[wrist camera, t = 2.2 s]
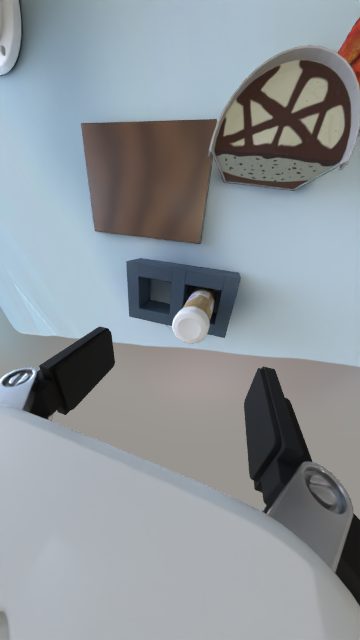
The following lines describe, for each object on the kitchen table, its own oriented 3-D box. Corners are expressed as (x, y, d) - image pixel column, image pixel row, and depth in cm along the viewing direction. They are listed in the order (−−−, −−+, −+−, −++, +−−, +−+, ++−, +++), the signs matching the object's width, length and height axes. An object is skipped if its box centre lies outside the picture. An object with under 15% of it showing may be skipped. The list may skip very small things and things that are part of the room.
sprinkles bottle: (204, 279, 30) (187, 304, 18) (221, 296, 31) (216, 331, 19) (187, 295, 32) (164, 327, 21) (204, 311, 33) (190, 351, 21)
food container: (333, 125, 19) (423, 27, 10) (305, 192, 22) (356, 161, 13) (226, 119, 21) (224, 32, 12) (214, 180, 24) (205, 147, 15)
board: (99, 231, 31) (94, 231, 30) (86, 128, 25) (80, 123, 24) (200, 243, 28) (199, 243, 27) (217, 124, 21) (217, 118, 20)
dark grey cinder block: (141, 307, 36) (129, 316, 32) (140, 258, 32) (126, 261, 27) (225, 325, 33) (224, 338, 28) (239, 272, 28) (240, 278, 24)
